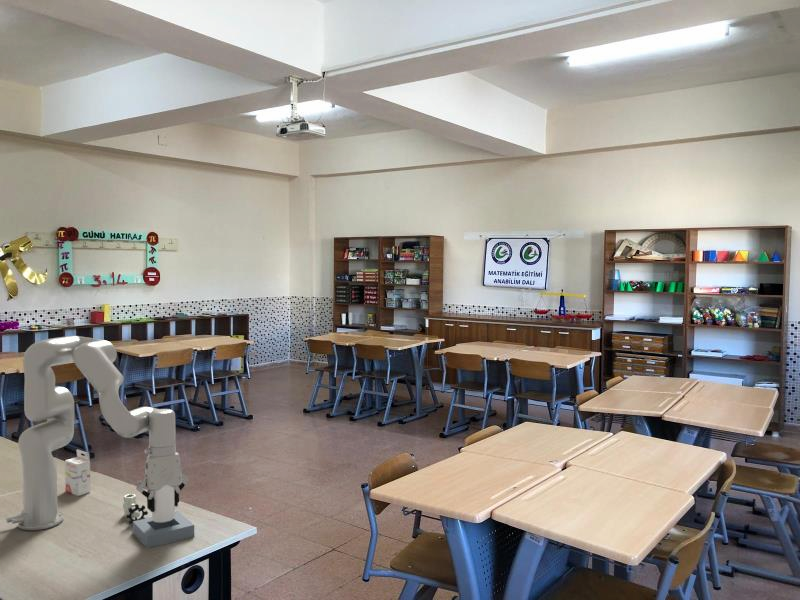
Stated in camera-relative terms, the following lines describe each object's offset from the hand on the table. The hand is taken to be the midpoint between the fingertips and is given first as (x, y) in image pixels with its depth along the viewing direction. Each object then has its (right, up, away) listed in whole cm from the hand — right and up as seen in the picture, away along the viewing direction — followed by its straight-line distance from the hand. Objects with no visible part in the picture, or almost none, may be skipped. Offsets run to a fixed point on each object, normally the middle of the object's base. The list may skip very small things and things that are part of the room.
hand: (163, 507), depth 200 cm
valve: (-14, -8, +12) cm, 21 cm away
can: (0, -4, 0) cm, 4 cm away
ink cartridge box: (-44, -6, +37) cm, 58 cm away
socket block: (0, -8, 0) cm, 8 cm away
